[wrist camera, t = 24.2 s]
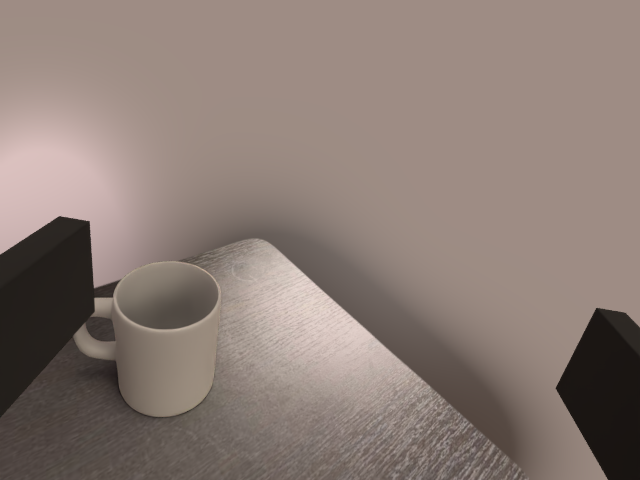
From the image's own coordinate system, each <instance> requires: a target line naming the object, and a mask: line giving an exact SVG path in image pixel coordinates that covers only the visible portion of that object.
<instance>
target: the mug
mask: <svg viewBox="0 0 640 480" xmlns="http://www.w3.org/2000/svg"><path fill="white" fill-rule="evenodd" d="M221 299H222V295H221V290H220V287H219V284H218V283H217V281H216V280H215V278H214V277H213V276H212V275H211V274H209V273H208V272H207V271H205V270H203V269H202V268H200V267H197V266H195V265H192V264H188V263H184V262H177V261H164V262H156V263H151V264H147V265H144V266H141V267H139V268H137V269H135V270H133V271H131V272H130V273H128V274H127V275H126V276H125V277H124V278H123V279H122V280H121V281H120V282H119V283H118V285H117V287H116V288H115V291H114V294H113V298H94V301H95V312H94V313H93V314H92V315H91V316H90V317H103V318H107V319H110V320H112V321H113V327H114V332H115V340H116V341H113V342H104V341H98V340H96V339H94V338H92V337H91V336H90V334H89V333H88V331H87V328H86V323H84V324H83V325H82V327H81V328H80V329H79V330H78V331H77V332H76V333H75V334H74V336H73V338H74V341H75V343H76V345H77V347H78V348H79V350H80V351H81V352H82V353H84V354H85V355H87V356H89V357H92V358H97V359H104V360H113V361H116V364H117V371H118V382H119V389H120V392H121V394H122V397H123V398H124V400H125V401H126V403H127V404H128V405H129V406H130V407H132V408H133V409H134V410H136V411H138V412H140V413H142V414H145V415H148V416H153V417H169V416H175V415H179V414H182V413H184V412H186V411H189V410H191V409H192V408H194V407H195V406H197V405H198V404H199V403H200V402H201V401H202V400H203V399H204V398H205V397H206V395H207V394H208V392H209V391H210V389H211V387H212V384H213V380H214V374H215V360H216V349H217V340H218V330H219V321H220V311H221Z"/></svg>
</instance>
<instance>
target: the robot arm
mask: <svg viewBox="0 0 640 480" xmlns="http://www.w3.org/2000/svg"><path fill="white" fill-rule="evenodd" d="M94 312H95V301H94V285H93V269H92V253H91V237H90V222H89V221H84V220H78V219H73V218H67V217H61V216H59V217H57V218H56V219H54V220H53V221H51V222H50V223H48V224H47V225H45V226H44V227H42V228H41V229H39V230H38V231H36V232H34V233H33V234H31V235H30V236H28V237H27V238H25V239H24V240H22V241H21V242H19V243H18V244H16V245H15V246H13V247H11V248H10V249H8V250H7V251H5V252H4V253H2V254H1V255H0V417H1V416H2V415H3V414H4V413H5V412H6V411H7V409H8V408H9V407H10V406H11V405H12V404H13V403H14V402H15V401H16V399H17V398H18V397H19V396H20V395H21V394H22V393H23V392H24V390H25V389H26V388H27V387H28V386H29V385H30V384H31V383H32V381H33V380H34V379H35V378H36V377H37V376H38V375H39V374H40V372H41V371H42V370H43V369H44V368H45V367H46V366H47V365H48V364H49V362H50V361H51V360H52V359H53V358H54V357H55V356H56V355H57V353H58V352H59V351H60V350H61V349H62V348H63V347H64V346H65V344H66V343H67V342H68V341H69V340H70V339H71V338H72V337H73V336H74V334H75V333H76V332H77V331H78V330H79V329H80V328H81V327H82V325H83V324H84V323H85V322H86V321H87V320H88V319H89V318H90V316H91V315H92V314H93V313H94ZM556 389H557V392H558V393H559V395H560V397H561V398H562V400H563V402H564V404H565V405H566V407H567V409H568V411H569V412H570V414H571V416H572V418H573V419H574V421H575V423H576V424H577V426H578V428H579V430H580V432H581V433H582V435H583V437H584V439H585V440H586V442H587V444H588V445H589V447H590V449H591V451H592V453H593V454H594V456H595V458H596V459H597V461H598V463H599V465H600V466H601V468H602V470H603V471H604V473H605V475H606V477H607V479H608V480H640V327H639V326H638V325H637V324H636V323H635V322H634V321H633V320H632V319H631V318H630V317H629V316H628V315H627V314H626V313H623V312H618V311H612V310H605V309H600V308H596V310H595V312H594V314H593V316H592V318H591V320H590V322H589V324H588V326H587V328H586V330H585V331H584V333H583V335H582V338H581V340H580V341H579V343H578V345H577V347H576V349H575V351H574V353H573V355H572V357H571V359H570V361H569V363H568V365H567V367H566V369H565V371H564V373H563V375H562V377H561V379H560V381H559V383H558V385H557V387H556Z"/></svg>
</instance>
